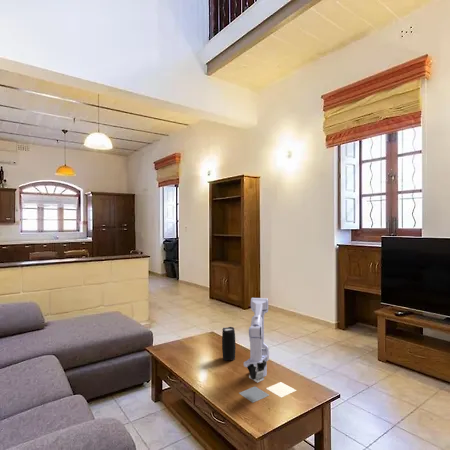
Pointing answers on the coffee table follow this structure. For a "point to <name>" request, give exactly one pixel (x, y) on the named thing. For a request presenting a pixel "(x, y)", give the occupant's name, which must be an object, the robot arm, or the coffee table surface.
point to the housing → (258, 374)
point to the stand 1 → (254, 394)
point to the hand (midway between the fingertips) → (256, 377)
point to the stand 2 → (281, 389)
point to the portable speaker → (228, 343)
